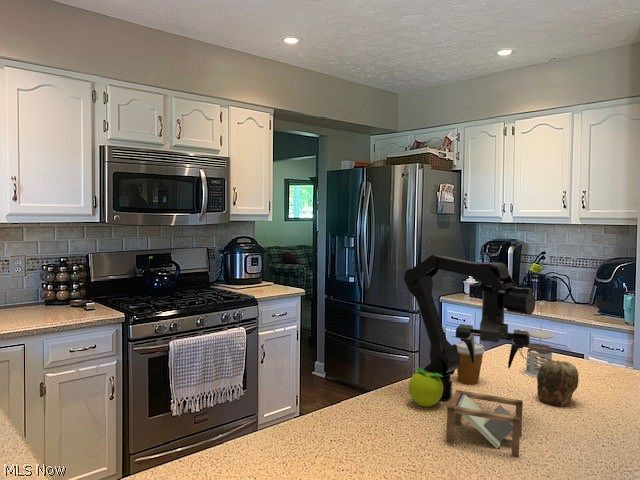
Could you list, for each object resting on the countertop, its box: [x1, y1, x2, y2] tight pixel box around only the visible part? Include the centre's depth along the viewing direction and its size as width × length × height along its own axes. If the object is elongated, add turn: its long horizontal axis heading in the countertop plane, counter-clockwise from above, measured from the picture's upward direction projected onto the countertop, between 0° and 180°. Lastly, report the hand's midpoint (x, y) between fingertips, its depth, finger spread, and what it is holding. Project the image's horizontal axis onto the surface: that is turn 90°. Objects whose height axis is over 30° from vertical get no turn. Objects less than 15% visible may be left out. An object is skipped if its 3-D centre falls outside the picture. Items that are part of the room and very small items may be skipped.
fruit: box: [408, 367, 443, 408], centre depth 142 cm, size 9×9×10 cm
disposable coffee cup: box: [455, 341, 486, 385], centre depth 163 cm, size 10×10×12 cm
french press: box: [518, 301, 554, 379], centre depth 172 cm, size 10×12×25 cm
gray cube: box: [483, 404, 513, 442], centre depth 120 cm, size 5×5×5 cm
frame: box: [445, 389, 524, 458], centre depth 121 cm, size 16×13×8 cm
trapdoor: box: [457, 394, 502, 449], centre depth 122 cm, size 12×9×1 cm
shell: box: [536, 359, 580, 407], centre depth 147 cm, size 11×11×12 cm
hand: (491, 365), depth 137 cm, fingers open, 9 cm apart
